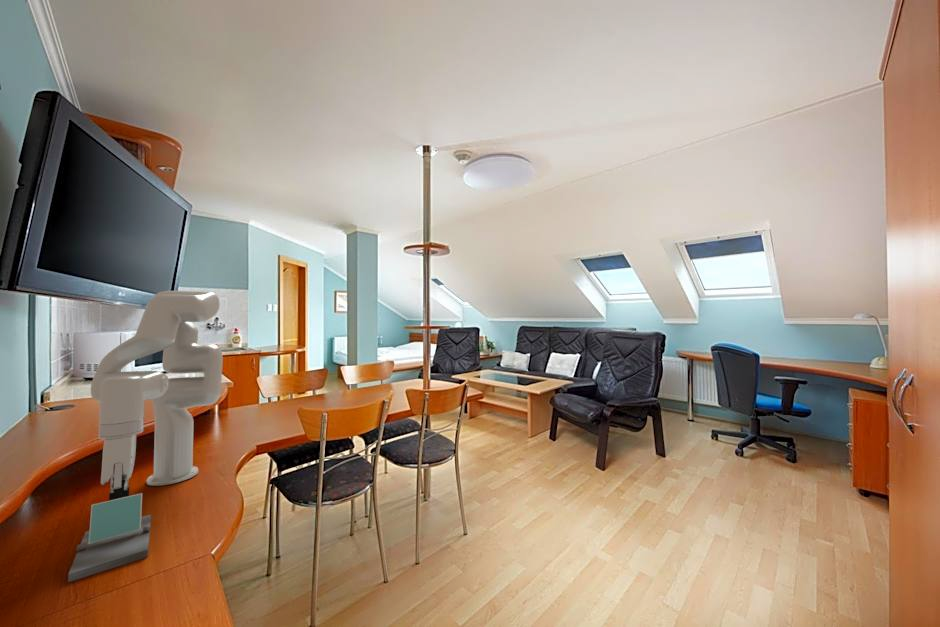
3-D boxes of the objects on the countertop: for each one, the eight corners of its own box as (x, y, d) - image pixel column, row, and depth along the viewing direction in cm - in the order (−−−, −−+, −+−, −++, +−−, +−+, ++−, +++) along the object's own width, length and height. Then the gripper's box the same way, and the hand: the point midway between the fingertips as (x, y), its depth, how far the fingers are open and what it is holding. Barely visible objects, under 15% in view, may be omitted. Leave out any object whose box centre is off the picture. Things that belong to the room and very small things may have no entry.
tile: (92, 504, 76) (91, 504, 75) (142, 493, 81) (142, 493, 81) (88, 543, 74) (88, 544, 73) (140, 529, 79) (140, 529, 78)
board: (84, 538, 79) (84, 526, 79) (151, 520, 86) (151, 509, 87) (67, 582, 66) (67, 567, 66) (148, 556, 73) (148, 543, 73)
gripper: (103, 424, 86) (100, 501, 85) (93, 439, 74) (89, 527, 74) (145, 419, 91) (142, 491, 90) (141, 432, 79) (138, 514, 78)
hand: (119, 507), depth 82 cm, fingers closed
